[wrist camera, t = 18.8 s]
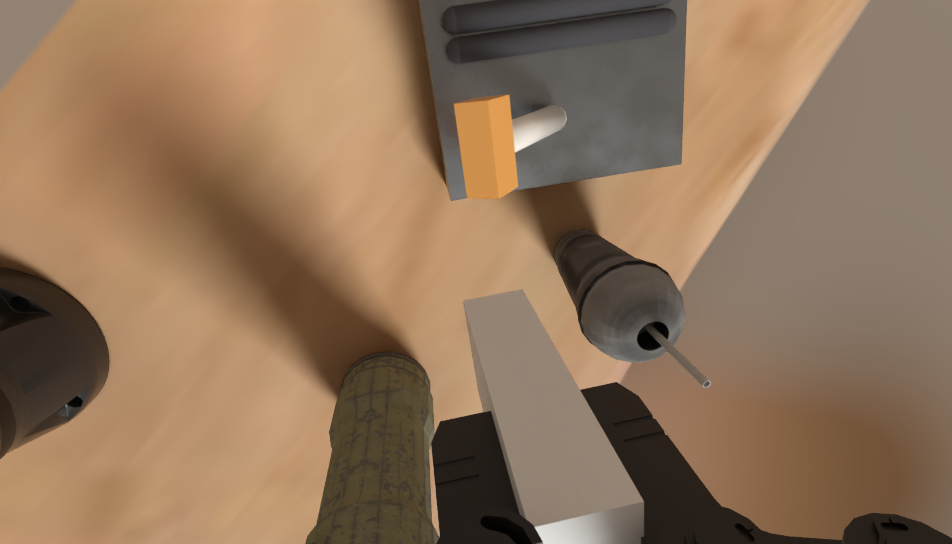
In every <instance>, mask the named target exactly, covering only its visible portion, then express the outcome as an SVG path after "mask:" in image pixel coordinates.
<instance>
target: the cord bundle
mask: <svg viewBox="0 0 952 544" xmlns="http://www.w3.org/2000/svg"><path fill="white" fill-rule="evenodd" d="M671 1H672V0H493V1H486V2H478V3H471V4H464V5H456V6H451V7H449V8H447V9H446V10H445V12H444V13H443V17H442V22H443V26H444V27H445V29H446V30H447V31H448V32H450V33H453V34H458V33H465V32H472V31H479V30H486V29H494V28H501V27H508V26H515V25H522V24H529V23H537V22H544V21H551V20H558V19H565V18H572V17H580V16H587V15H594V14H601V13H608V12H616V11H623V10H630V9H637V8H644V7H651V6H659V5H665V4H668V3H670V2H671ZM676 21H677V18H676V14H675V12H674V11H673V10H671V9H669V8H661V9H654V10H647V11H640V12H633V13H625V14H618V15H611V16H604V17H597V18H590V19H582V20H575V21H568V22H561V23H554V24H547V25H540V26H532V27H525V28H518V29H511V30H504V31H497V32H489V33H482V34H475V35H468V36H461V37H455V38H453V39H451V40H450V41H449V43H448V45H447V55H448V57H449V59H450V60H451V61H452V62H454V63H458V64H460V63H467V62H474V61H481V60H488V59H495V58H502V57H509V56H516V55H523V54H530V53H537V52H544V51H551V50H558V49H565V48H572V47H579V46H586V45H593V44H600V43H607V42H614V41H621V40H628V39H635V38H642V37H649V36H656V35H663V34H667V33H669V32H670V31H672V29H673V28H674V27H675V25H676Z"/></svg>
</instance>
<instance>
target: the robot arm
mask: <svg viewBox="0 0 952 544" xmlns="http://www.w3.org/2000/svg"><path fill="white" fill-rule="evenodd" d="M463 303H464V309H465V315H466V321H467V327H468V333H469V339H470V345H471V351H472V357H473V363H474V369H475V375H476V381H477V386H478V392H479V396H480V400H481V404H482V408H483V413H478V414H473V415H469V416H464V417H459V418H455V419H450V420H445V421H441V422H440V423H439V426H438V428H437V430H436V433H435V435H434V437H433V440H432V442H431V445H432V456H433V466H434V477H435V486H436V498H437V509H438V519H439V530H440V538H439V540H438V541H437V543H436V544H952V538H950V537H949V536H947V535H945V534H943V533H941V532H939V531H937V530H935V529H933V528H931V527H930V526H928V525H926V524H924V523H922V522H918V521H915V520H912V519H908V518H905V517H902V516H899V515H895V514H879V513H870V514H867V515H864V516H860V517H857V518H854V519H853V520H852V521H851V523H850V524H849V525H848V526H847V527H846V528H845V530H844V534H843V538H842V540H831V539H817V538H802V537H789V536H783V535H777V534H771V533H768V532H765V531H762V530H760V529H759V528H758V527H757V526H756V525H755V524H754V523H753V522H752V521H751V520H749V519H748V518H746V517H744V516H742V515H740V514H739V513H737V512H735V511H733V510H731V509H729V508H725V507H722V506H721V505H720V504H719V503H718V502H717V501H716V500H715V499H714V498H713V496H712V495H711V494H710V492H709V491H708V490H707V488H706V487H705V485H704V484H703V483H702V481H701V480H700V479H699V477H698V476H697V475H696V473H695V472H694V471H693V469H692V468H691V467H690V465H689V464H688V463H687V461H686V460H685V459H684V457H683V456H682V454H681V453H680V452H679V450H678V449H677V448H676V446H675V445H674V444H673V442H672V441H671V440H670V438H669V437H668V435H665V433H664V430H663V429H662V428H661V426H660V425H659V423H658V422H657V421H656V419H653V417H652V414H651V413H650V411H649V410H648V408H647V407H646V406H645V404H644V403H643V402H642V400H641V399H640V398H639V396H637V395H636V394H634V393H633V392H631V391H630V390H628V389H626V388H625V387H623V386H622V385H620V384H618V383H617V382H615V383H610V384H606V385H601V386H596V387H592V388H587V389H582V390H580V389H579V387H578V386H577V384H576V382H575V380H574V379H573V377H572V375H571V373H570V372H569V370H568V368H567V366H566V365H565V363H564V361H563V359H562V358H561V356H560V354H559V352H558V351H557V349H556V347H555V345H554V344H553V342H552V340H551V338H550V337H549V335H548V333H547V332H546V330H545V328H544V326H543V325H542V323H541V321H540V319H539V318H538V316H537V314H536V312H535V311H534V309H533V307H532V305H531V304H530V302H529V300H528V298H527V297H526V295H525V293H524V291H523V290H517V291H511V292H506V293H501V294H496V295H491V296H486V297H481V298H475V299H470V300H465V301H463ZM108 372H109V353H108V348H107V344H106V342H105V339H104V337H103V334H102V332H101V331H100V329H99V327H98V325H97V324H96V322H95V321H94V320H93V318H92V317H91V316H90V315H89V313H88V312H87V311H86V310H85V309H84V308H83V307H82V306H81V305H80V304H79V303H78V302H76V301H75V300H74V299H73V298H71V297H70V296H69V295H67V294H66V293H65V292H63V291H62V290H60V289H58V288H57V287H55V286H53V285H51V284H49V283H47V282H45V281H43V280H41V279H39V278H36V277H34V276H31V275H28V274H25V273H22V272H18V271H14V270H9V269H4V268H0V459H1V458H2V457H3V456H4V455H5V454H6V453H8V452H10V451H12V450H14V449H16V448H18V447H20V446H22V445H24V444H26V443H28V442H30V441H32V440H34V439H36V438H38V437H40V436H42V435H44V434H46V433H48V432H50V431H52V430H54V429H56V428H58V427H60V426H62V425H64V424H66V423H67V422H69V421H70V420H72V419H73V418H74V417H76V416H77V415H78V414H79V413H81V412H82V411H83V410H84V409H85V408H86V407H87V406H88V404H89V403H90V402H91V401H92V400H93V399H94V398H95V397H96V396H97V395H98V394H99V392H100V391H101V389H102V388H103V386H104V384H105V382H106V379H107V376H108Z"/></svg>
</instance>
